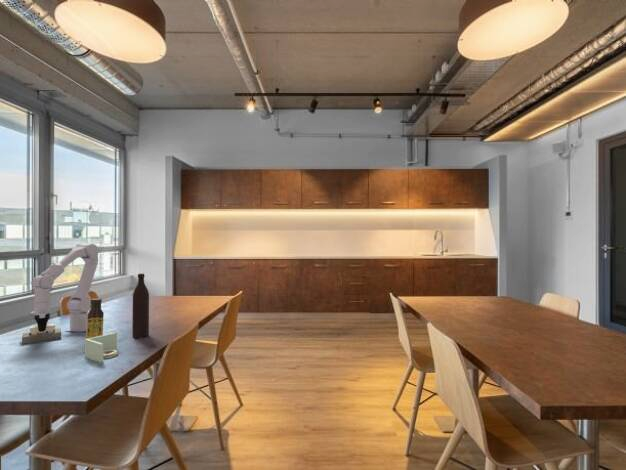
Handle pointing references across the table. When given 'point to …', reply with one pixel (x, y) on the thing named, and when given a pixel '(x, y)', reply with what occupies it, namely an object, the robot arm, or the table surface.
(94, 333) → the sauce bottle
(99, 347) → the l-shaped corner panel
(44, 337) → the grey slotted block
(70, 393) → the table surface
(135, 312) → the wine bottle
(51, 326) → the clip
